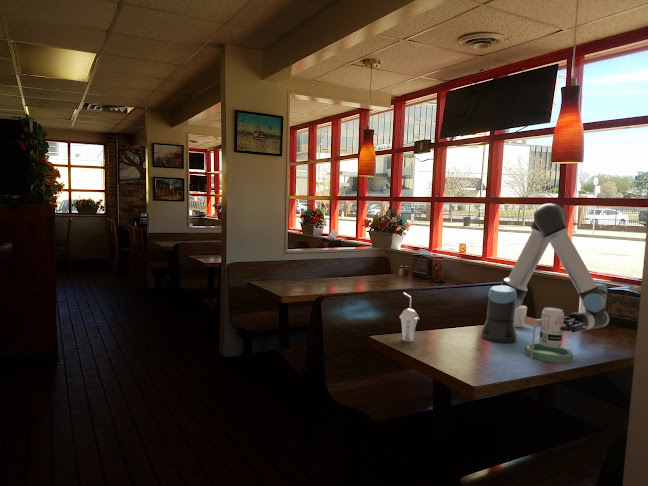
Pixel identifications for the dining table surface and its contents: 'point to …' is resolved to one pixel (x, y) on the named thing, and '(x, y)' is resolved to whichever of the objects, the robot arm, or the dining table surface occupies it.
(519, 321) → the white cup
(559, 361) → the cup
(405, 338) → the cup with straw
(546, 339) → the supplement can
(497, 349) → the dining table surface
